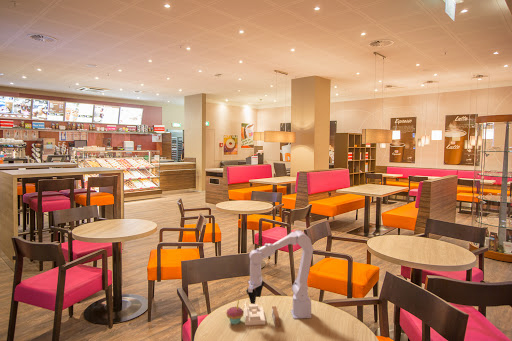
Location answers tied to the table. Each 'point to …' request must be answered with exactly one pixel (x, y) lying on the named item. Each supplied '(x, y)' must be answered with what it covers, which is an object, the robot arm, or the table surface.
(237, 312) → the cupcake
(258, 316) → the cream lipped block
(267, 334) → the table surface
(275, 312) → the brown wooden bar
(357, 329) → the table surface
